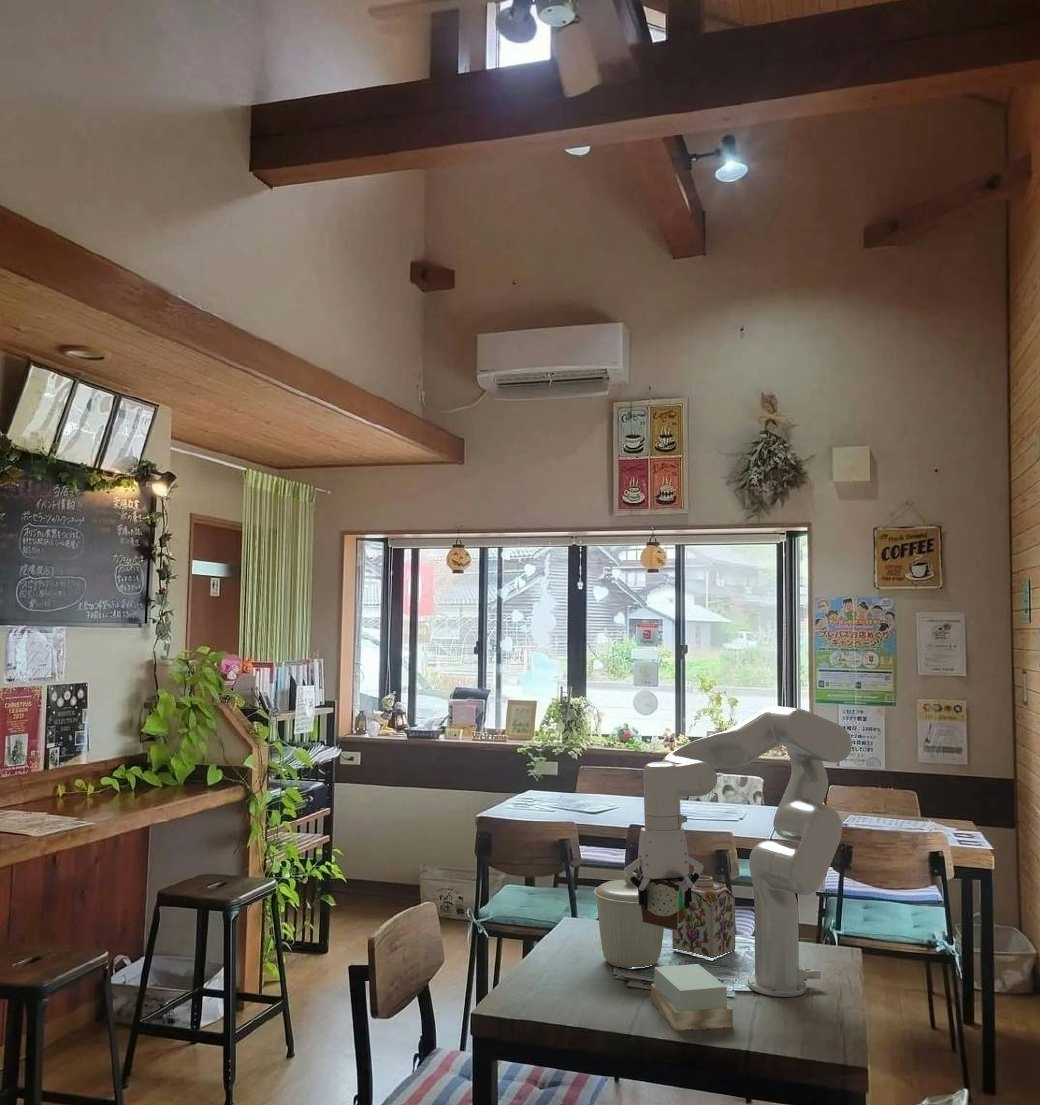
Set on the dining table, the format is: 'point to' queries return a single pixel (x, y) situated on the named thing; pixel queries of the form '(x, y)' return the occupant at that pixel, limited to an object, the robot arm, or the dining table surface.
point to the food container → (665, 903)
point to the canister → (625, 926)
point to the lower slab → (692, 1014)
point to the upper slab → (690, 987)
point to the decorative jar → (707, 920)
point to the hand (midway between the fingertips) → (665, 906)
